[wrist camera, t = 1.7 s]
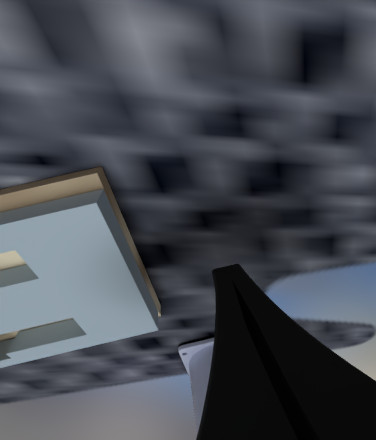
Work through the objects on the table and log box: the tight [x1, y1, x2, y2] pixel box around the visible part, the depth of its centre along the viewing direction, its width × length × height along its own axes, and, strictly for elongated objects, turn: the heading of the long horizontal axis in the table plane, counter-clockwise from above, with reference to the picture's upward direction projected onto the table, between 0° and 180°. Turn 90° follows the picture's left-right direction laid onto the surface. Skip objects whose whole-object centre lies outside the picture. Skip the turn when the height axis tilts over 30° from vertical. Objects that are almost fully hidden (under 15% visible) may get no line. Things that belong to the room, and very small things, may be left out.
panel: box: [0, 189, 158, 368], centre depth 13 cm, size 10×14×2 cm
